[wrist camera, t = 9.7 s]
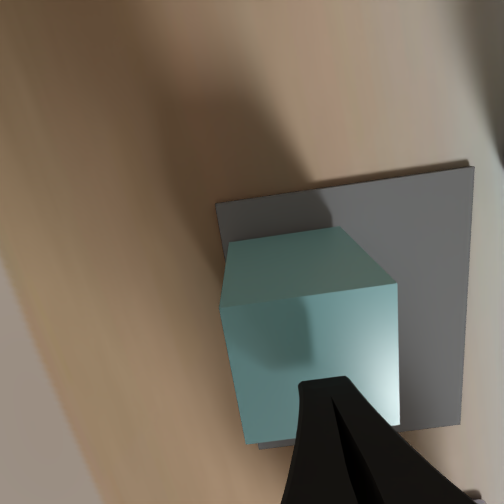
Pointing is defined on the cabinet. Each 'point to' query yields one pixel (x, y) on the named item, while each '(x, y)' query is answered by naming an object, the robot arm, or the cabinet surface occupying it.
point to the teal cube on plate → (307, 326)
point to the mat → (393, 269)
